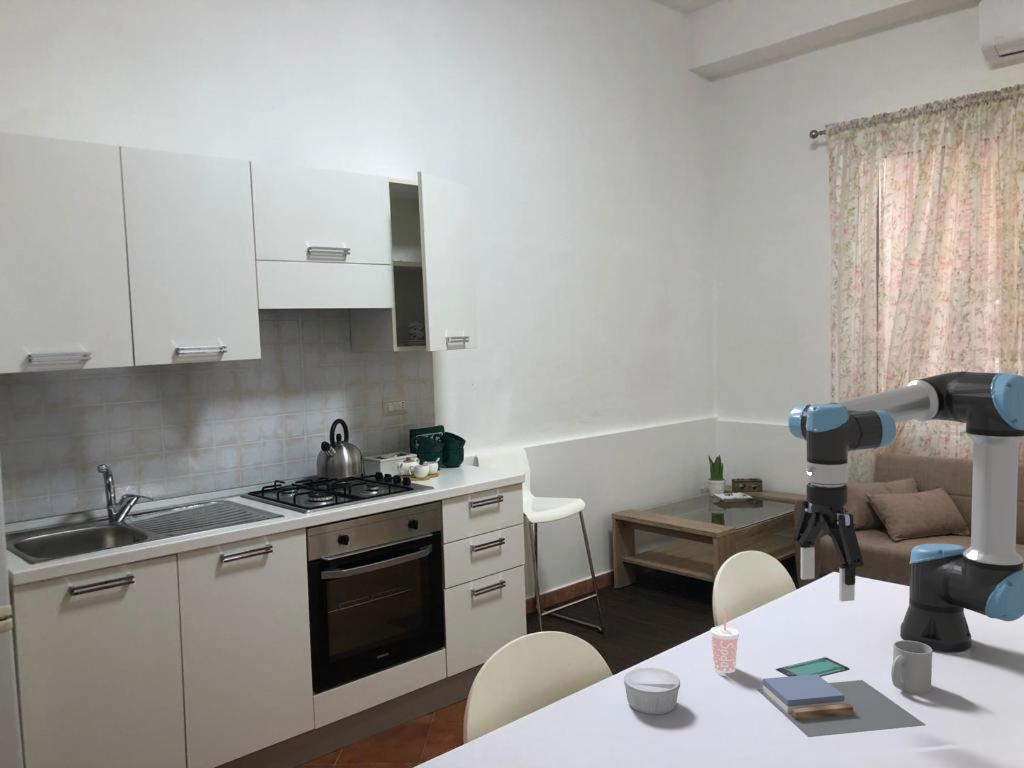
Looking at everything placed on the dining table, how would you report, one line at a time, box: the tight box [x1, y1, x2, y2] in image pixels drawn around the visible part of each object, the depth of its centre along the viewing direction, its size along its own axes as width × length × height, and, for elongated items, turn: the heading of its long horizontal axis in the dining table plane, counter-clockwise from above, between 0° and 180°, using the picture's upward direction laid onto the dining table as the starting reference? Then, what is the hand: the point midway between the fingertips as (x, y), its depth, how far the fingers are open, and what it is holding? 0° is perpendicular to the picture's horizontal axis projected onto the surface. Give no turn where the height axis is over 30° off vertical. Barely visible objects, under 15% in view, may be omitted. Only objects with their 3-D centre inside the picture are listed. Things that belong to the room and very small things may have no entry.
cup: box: [890, 639, 933, 695], centre depth 169 cm, size 7×10×9 cm
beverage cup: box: [710, 607, 740, 676], centre depth 179 cm, size 6×6×14 cm
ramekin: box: [623, 667, 681, 715], centre depth 164 cm, size 11×11×5 cm
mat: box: [756, 679, 927, 738], centre depth 161 cm, size 24×20×1 cm
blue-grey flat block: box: [762, 674, 844, 713], centre depth 164 cm, size 12×2×10 cm
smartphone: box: [775, 656, 850, 678], centre depth 179 cm, size 7×1×15 cm
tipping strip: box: [791, 704, 853, 720], centre depth 157 cm, size 12×2×2 cm, turn 100°
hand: (826, 589), depth 163 cm, fingers open, 13 cm apart
